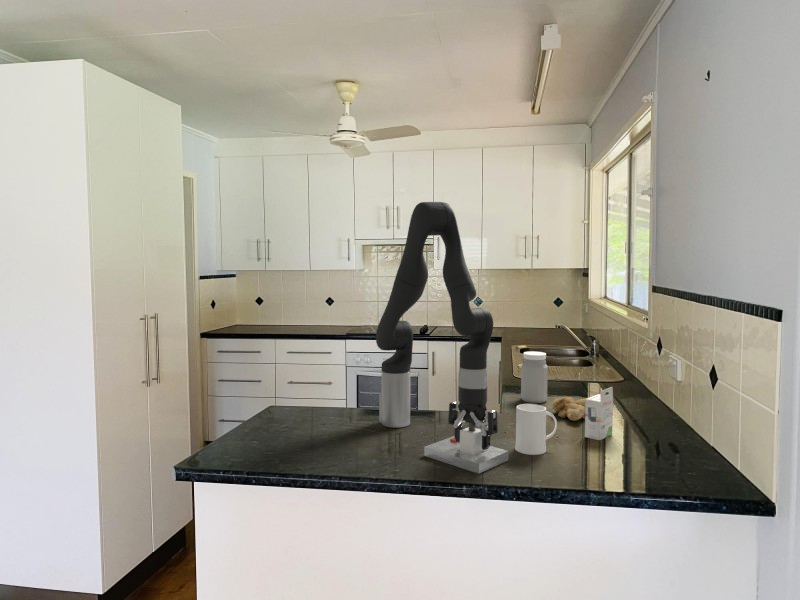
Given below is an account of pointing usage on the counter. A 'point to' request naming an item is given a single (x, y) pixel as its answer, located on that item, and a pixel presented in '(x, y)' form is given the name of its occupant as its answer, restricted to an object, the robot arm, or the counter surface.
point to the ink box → (599, 415)
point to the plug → (471, 440)
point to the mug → (532, 429)
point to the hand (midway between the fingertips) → (472, 445)
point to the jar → (534, 377)
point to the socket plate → (465, 456)
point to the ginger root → (570, 408)
